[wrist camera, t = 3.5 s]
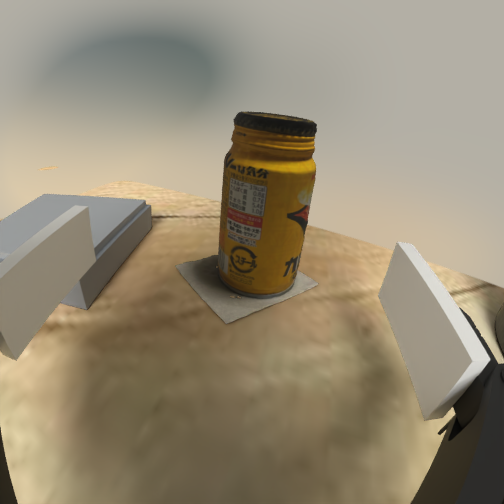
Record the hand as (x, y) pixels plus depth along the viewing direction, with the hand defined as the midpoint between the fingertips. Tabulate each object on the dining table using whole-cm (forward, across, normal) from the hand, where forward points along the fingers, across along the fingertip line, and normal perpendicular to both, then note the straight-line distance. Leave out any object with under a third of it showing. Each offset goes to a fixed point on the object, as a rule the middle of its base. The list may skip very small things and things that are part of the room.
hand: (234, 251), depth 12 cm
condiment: (+9, 0, -7) cm, 11 cm away
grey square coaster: (+9, -17, -7) cm, 20 cm away
